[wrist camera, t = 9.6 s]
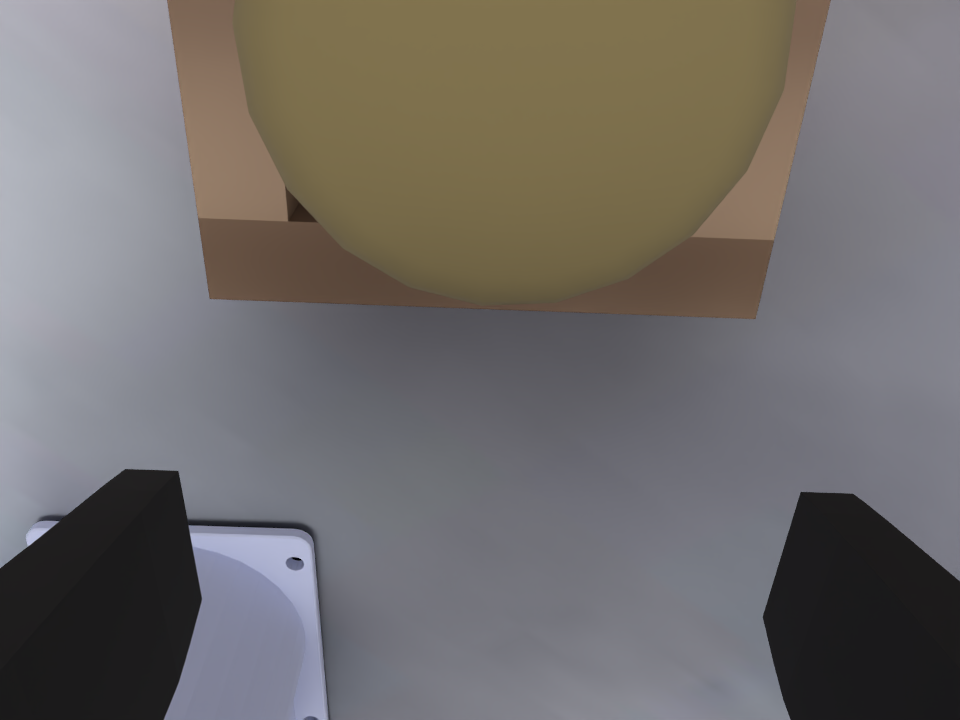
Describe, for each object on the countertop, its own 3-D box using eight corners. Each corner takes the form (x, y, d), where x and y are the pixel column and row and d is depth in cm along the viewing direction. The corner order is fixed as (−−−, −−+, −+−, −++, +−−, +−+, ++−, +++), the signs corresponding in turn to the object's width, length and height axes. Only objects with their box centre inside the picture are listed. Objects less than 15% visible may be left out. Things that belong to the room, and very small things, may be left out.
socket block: (718, 260, 19) (755, 319, 16) (247, 242, 19) (209, 298, 16) (841, -353, 13) (927, -410, 11) (177, -386, 13) (102, -454, 11)
